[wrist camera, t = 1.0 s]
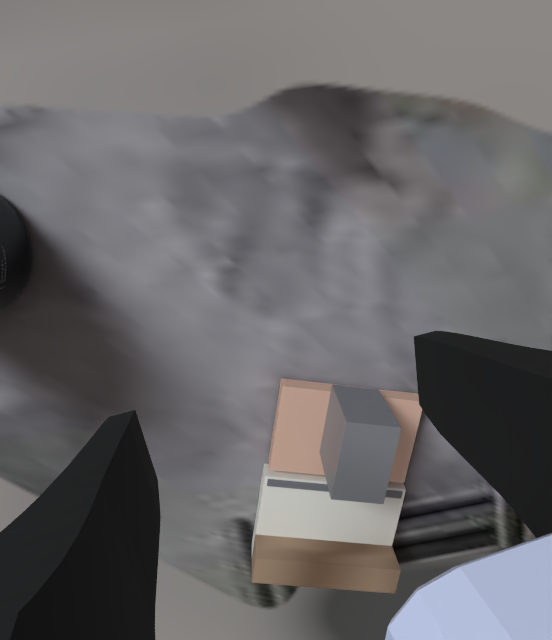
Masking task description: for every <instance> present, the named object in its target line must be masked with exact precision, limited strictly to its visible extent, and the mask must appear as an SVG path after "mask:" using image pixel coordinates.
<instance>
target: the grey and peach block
mask: <svg viewBox="0 0 552 640" xmlns="http://www.w3.org/2000/svg"><path fill="white" fill-rule="evenodd" d="M421 413H422V408H421V406H420V405H419V395H418V394H416V393H407V392H398V391H389V390H381V389H372V388H363V387H354V386H345V385H336V384H327V383H319V382H310V381H301V380H292V379H283V378H281V383H280V390H279V396H278V403H277V409H276V415H275V422H274V428H273V435H272V441H271V447H270V454H269V470H275V471H285V472H295V473H306V474H316V475H325V477H326V481H327V486H328V490H329V494H330V498H331V499H332V500H343V501H354V502H365V503H376V504H384V500H385V496H386V491H387V487H388V483H389V482H399V483H404V482H405V478H406V474H407V470H408V466H409V462H410V457H411V453H412V449H413V445H414V441H415V437H416V433H417V429H418V425H419V421H420V417H421Z"/></svg>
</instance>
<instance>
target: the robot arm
mask: <svg viewBox="0 0 552 640" xmlns="http://www.w3.org/2000/svg"><path fill="white" fill-rule="evenodd" d="M414 344H415V357H416V370H417V382H418V395H419V405H420V406H421V408H422V409H423V411H424V412H425V414H426V415H427V417H428V418H429V419H430V421H431V422H432V423H433V425H434V426H435V427H436V429H437V430H438V431H439V433H440V434H441V435H442V436H443V437H444V438H445V439H446V440H447V441H448V442H449V443H450V444H451V445H452V446H453V447H454V448H455V449H456V450H457V451H458V452H459V454H460V455H461V456H462V457H463V458H464V459H465V460H466V461H467V462H468V463H469V464H470V465H471V466H472V467H473V468H474V469H475V470H476V471H477V472H478V473H479V474H480V475H481V476H482V477H483V478H484V479H485V480H486V481H487V482H488V483H489V484H490V485H491V486H492V487H493V488H494V489H495V490H496V491H497V492H498V493H499V494H500V495H501V496H502V497H503V498H504V499H505V500H506V501H507V503H508V504H509V505H510V506H511V507H512V508H513V509H514V510H515V512H516V513H517V514H518V515H519V517H520V518H521V519H522V520H523V522H524V523H525V524H526V525H527V527H528V528H529V529H530V530H531V532H532V533H533V534H534V535H535V537H536V539H533V540H530V541H527V542H524V543H521V544H518V545H515V546H513V547H510V548H507V549H504V550H501V551H498V552H495V553H492V554H489V555H487V556H484V557H481V558H478V559H475V560H472V561H469V562H466V563H463V564H461V565H458V566H455V567H453V568H451V569H450V570H448V571H446V572H444V573H442V574H441V575H439V576H437V577H436V578H434V579H432V580H430V581H429V582H427V583H425V584H423V585H421V586H420V587H418V588H417V589H416V590H415V591H414V593H413V594H412V595H411V596H410V597H409V599H408V600H407V601H406V602H405V604H404V605H403V606H402V607H401V608H400V610H399V611H398V612H397V613H396V615H395V616H394V617H393V618H392V620H391V622H390V624H389V626H388V629H387V634H386V639H385V640H552V351H549V350H542V349H536V348H530V347H524V346H519V345H513V344H508V343H503V342H498V341H493V340H488V339H483V338H479V337H474V336H469V335H463V334H458V333H452V332H444V331H433V332H430V333H426V334H422V335H418V336H414ZM159 534H160V503H159V490H158V479H157V476H156V473H155V470H154V467H153V464H152V461H151V458H150V455H149V452H148V448H147V445H146V442H145V439H144V436H143V433H142V430H141V427H140V424H139V421H138V417H137V414H136V411H135V410H134V411H130V412H126V413H122V414H118V415H115V416H111V417H109V418H108V419H107V420H106V421H105V422H104V423H103V424H102V425H101V427H100V428H99V429H98V430H97V432H96V433H95V434H94V435H93V436H92V438H91V439H90V440H89V441H88V443H87V444H86V445H85V446H84V447H83V449H82V450H81V451H80V452H79V453H78V455H77V456H76V457H75V458H74V459H73V461H72V462H71V463H70V464H69V465H68V466H67V468H66V469H65V470H64V471H63V472H62V473H61V474H60V475H59V476H58V477H57V478H56V479H55V481H54V482H53V483H52V484H51V485H50V486H49V487H48V488H47V489H46V490H45V491H44V492H43V493H42V495H41V496H40V497H39V498H38V499H36V500H35V501H34V503H32V504H31V505H30V506H29V507H28V508H27V509H26V510H25V511H24V512H23V513H22V514H21V515H19V516H18V517H17V518H16V519H15V520H14V521H13V522H12V523H11V524H9V525H8V526H7V527H6V528H5V529H4V530H3V531H1V532H0V640H155V599H156V583H157V567H158V552H159Z"/></svg>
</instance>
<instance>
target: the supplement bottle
mask: <svg viewBox="0 0 552 640" xmlns="http://www.w3.org/2000/svg"><path fill="white" fill-rule="evenodd" d="M31 263H32V252H31V245H30V240H29V237H28V234H27V231H26V229H25V226H24V224H23V222H22V221H21V219H20V217H19V216H18V214H17V213H16V212H15V210H14V209H13V208H12V207H11V206H10V204H9V203H8V202H7V201H6V200H5V199H3V198H2V197H1V196H0V310H2V309H4V308H5V307H6V306H8V305H9V304H10V303H12V302H13V301H14V300H15V299H16V298H17V297H18V295H19V294H20V293H21V291H22V290H23V288H24V286H25V284H26V282H27V280H28V277H29V274H30V270H31Z"/></svg>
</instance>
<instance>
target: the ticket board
mask: <svg viewBox="0 0 552 640" xmlns="http://www.w3.org/2000/svg"><path fill="white" fill-rule="evenodd" d="M405 492H406V488H405V486H404V484H403V483H399V482H389V483H388V487H387V491H386V496H385V500H384V504H376V503H365V502H354V501H343V500H332V499H331V498H330V494H329V490H328V486H327V481H326V477H325V475H316V474H306V473H295V472H285V471H275V470H269V464H264V467H263V474H262V480H261V487H260V493H259V500H258V506H257V513H256V519H255V526H254V533H253V539H252V583H265V584H278V585H291V586H305V587H318V588H331V589H343V590H344V589H345V590H356V591H369V592H382V593H395V591H396V588H397V583H398V580H399V576H400V572H401V569H400V566H399V563H398V561H397V558H396V555H395V553H394V550H393V547H392V544H393V540H394V536H395V532H396V528H397V524H398V520H399V516H400V512H401V508H402V504H403V500H404V496H405Z"/></svg>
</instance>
